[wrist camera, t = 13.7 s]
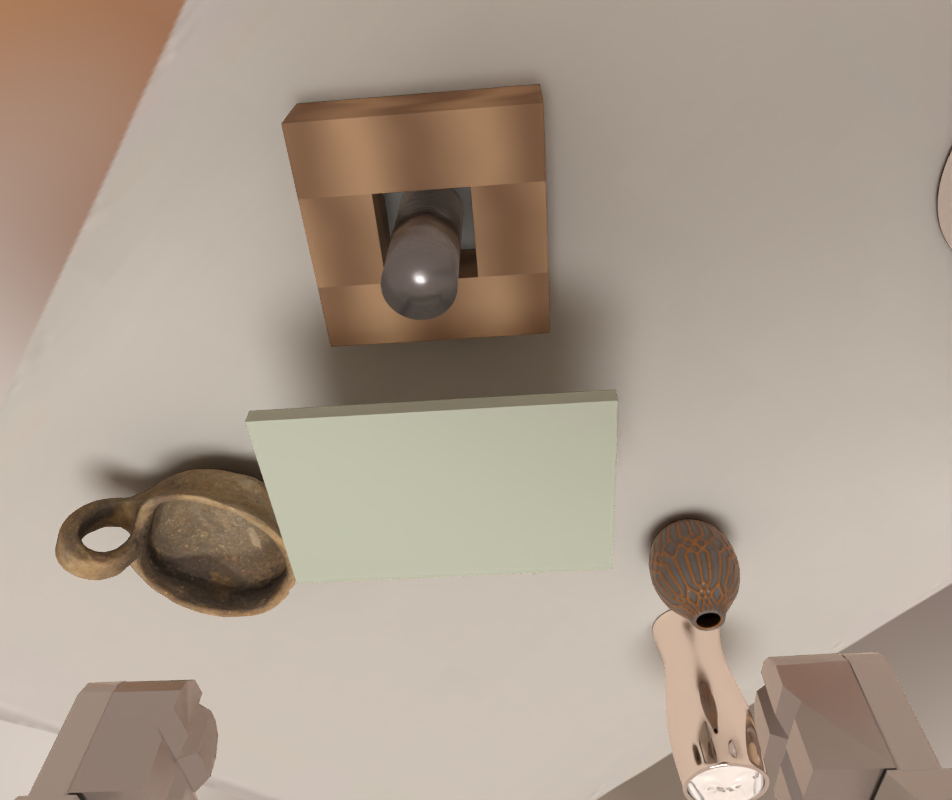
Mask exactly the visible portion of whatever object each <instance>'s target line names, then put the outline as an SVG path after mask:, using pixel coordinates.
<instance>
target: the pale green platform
mask: <svg viewBox="0 0 952 800" xmlns="http://www.w3.org/2000/svg"><path fill="white" fill-rule="evenodd" d="M617 419H618V398H617V394H616V390H601V391H584V392H567V393H550V394H532V395H515V396H498V397H480V398H463V399H446V400H429V401H411V402H394V403H377V404H360V405H342V406H325V407H308V408H291V409H273V410H256V411H249V413H248V416H247V418H246V421H245V424H246V427H247V430H248V433H249V436H250V439H251V442H252V445H253V449H254V452H255V455H256V458H257V461H258V464H259V467H260V470H261V473H262V477H263V480H264V483H265V486H266V489H267V492H268V495H269V498H270V501H271V505H272V508H273V511H274V514H275V517H276V520H277V523H278V526H279V529H280V533H281V536H282V539H283V542H284V545H285V548H286V551H287V554H288V557H289V561H290V564H291V567H292V570H293V573H294V576H295V579H296V582H297V584H299V583H321V582H344V581H366V580H388V579H411V578H433V577H455V576H478V575H500V574H522V573H545V572H567V571H589V570H612V561H613V533H614V504H615V476H616V447H617Z"/></svg>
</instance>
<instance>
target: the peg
mask: <svg viewBox="0 0 952 800" xmlns="http://www.w3.org/2000/svg"><path fill="white" fill-rule="evenodd" d="M462 225H463V205H462V202H461V200H460V198H459V196H458V195H457V193H456V192H455V191H454V190H453V189H452V188H446V189H432V190H418V191H406V192H405V194H404V195H403V197H402V199H401V202H400V206H399V210H398V214H397V218H396V222H395V226H394V230H393V233H392V237H391V241H390V245H389V249H388V253H387V257H386V261H385V265H384V269H383V272H382V276H381V291H382V294H383V297H384V299H385V301H386V302H387V304H388V305H389V306H390V307H391V308H392V309H393V310H394V311H395V312H397V313H398V314H400V315H402V316H404V317H406V318H409V319H414V320H428V319H432V318H435V317H438V316H440V315H442V314H443V313H445V312H446V311H447V310H448V309H449V308H450V307H451V306H452V304H453V302H454V301H455V298H456V295H457V289H458V276H459V263H460V250H461V237H462Z"/></svg>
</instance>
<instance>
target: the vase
mask: <svg viewBox="0 0 952 800" xmlns="http://www.w3.org/2000/svg"><path fill="white" fill-rule="evenodd" d="M649 570H650V576H651V580H652V583H653V585H654V588H655V590H656V592H657V594H658V595H659V597H660V598H661V600H662V601H663V602H664V603H665V604H666V606H667V607H668V608H670V609H671V610H672V611H674V612H675V613H677V614H678V615H680V616H682V617H683V618H685V619H687V620H688V621H690V622H691V624H692V625H693V626H694V627H695V628H697V629H699V630H702V631H711V630H715V629H717V628H719V627H720V626H722V625H723V623H724V621H725V617H726V613H727V611H728V609H729V608H730V606H731V605H732V603H733V601H734V600H735V598H736V596H737V593H738V589H739V584H740V569H739V563H738V560H737V557H736V554H735V552H734V550H733V547H732V546H731V544H730V542H729V541H728V540H727V538H726V537H725V536H724V535H723V534H722V533H721V532H720V531H719V530H718V529H717V528H715V527H714V526H712V525H710V524H708V523H706V522H703V521H699V520H693V519H685V520H679V521H676V522H673V523H671V524H670V525H668V526H666V527H665V528H664V529H663V530H661V531H660V532H659V534H658V535H657V536H656V538H655V539H654V541H653V543H652V546H651V550H650V555H649Z"/></svg>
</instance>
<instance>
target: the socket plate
mask: <svg viewBox="0 0 952 800" xmlns="http://www.w3.org/2000/svg"><path fill="white" fill-rule="evenodd" d="M281 124H282V129H283V133H284V138H285V142H286V147H287V151H288V156H289V160H290V165H291V169H292V174H293V178H294V183H295V187H296V192H297V196H298V201H299V205H300V209H301V214H302V218H303V223H304V227H305V232H306V236H307V241H308V245H309V250H310V254H311V259H312V263H313V268H314V272H315V277H316V281H317V286H318V290H319V295H320V299H321V304H322V308H323V313H324V317H325V322H326V326H327V331H328V335H329V340H330V344H331V347H333V346H349V345H365V344H381V343H397V342H413V341H429V340H445V339H461V338H478V337H494V336H510V335H526V334H542V333H550V317H549V281H548V244H547V207H546V170H545V133H544V102H543V98H542V93H541V89H540V84H535V85H522V86H510V87H498V88H485V89H473V90H460V91H448V92H436V93H423V94H411V95H399V96H386V97H374V98H361V99H349V100H337V101H324V102H312V103H300V104H296V105H295V106H294V108H293V109H292V110H291V112H290V113H289V114H288V116H287V117H286V118H285V120H284V121H283V122H282V123H281ZM459 187H471V197H472V209H473V221H474V232H475V244H476V249H475V250H460V263H459V276H458V289H457V295H456V298H455V301H454V302H453V304H452V306H451V307H450V308H449V309H448V310H447V311H446V312H445V313H443V314H442V315H440V316H438V317H435V318H432V319H428V320H414V319H409V318H406V317H404V316H402V315H400V314H398V313H397V312H395V311H394V310H393V309H392V308H391V307H390V306H389V305H388V304H387V302H386V301H385V299H384V297H383V294H382V291H381V276H382V272H383V269H384V265H385V261H386V257H387V253H388V249H389V245H390V241H391V240H390V233H389V227H388V220H387V214H386V207H385V201H384V194H383V193H391V192H405V191H418V190H432V189H446V188H459Z"/></svg>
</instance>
